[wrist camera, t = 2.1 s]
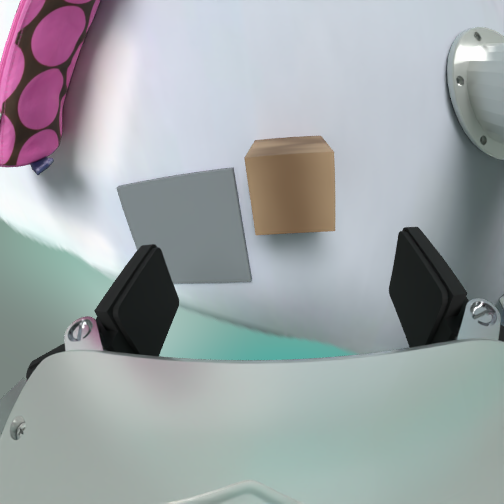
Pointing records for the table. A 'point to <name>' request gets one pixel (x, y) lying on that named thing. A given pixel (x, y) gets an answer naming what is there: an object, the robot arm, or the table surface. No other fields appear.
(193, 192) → the felt pad
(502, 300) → the ink box
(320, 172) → the walnut block
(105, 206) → the table surface
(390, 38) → the table surface
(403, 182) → the table surface
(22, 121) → the pencil case
